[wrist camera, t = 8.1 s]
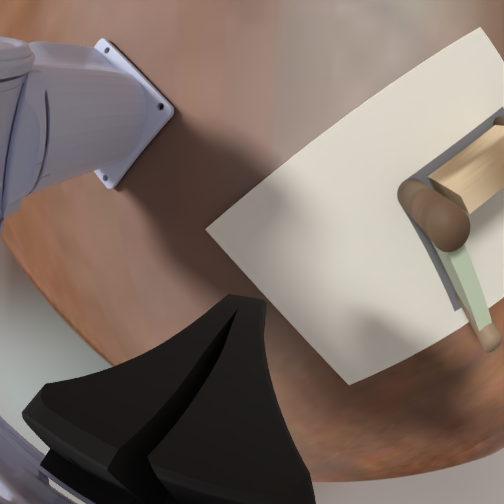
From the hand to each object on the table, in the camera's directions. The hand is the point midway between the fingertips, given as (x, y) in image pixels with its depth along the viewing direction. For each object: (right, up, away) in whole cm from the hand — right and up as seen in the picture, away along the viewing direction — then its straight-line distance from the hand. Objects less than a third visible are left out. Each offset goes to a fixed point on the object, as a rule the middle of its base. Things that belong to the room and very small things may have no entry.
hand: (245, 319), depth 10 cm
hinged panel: (+13, +2, +6) cm, 14 cm away
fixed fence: (+13, +8, +3) cm, 15 cm away
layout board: (+12, +4, +6) cm, 14 cm away
